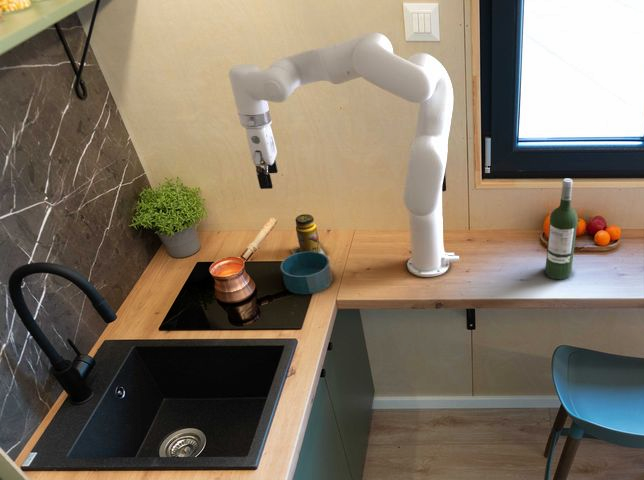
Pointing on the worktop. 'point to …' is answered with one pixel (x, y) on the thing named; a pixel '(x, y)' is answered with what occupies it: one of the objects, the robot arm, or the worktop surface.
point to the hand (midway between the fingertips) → (269, 180)
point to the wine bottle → (562, 236)
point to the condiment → (307, 235)
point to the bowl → (306, 272)
